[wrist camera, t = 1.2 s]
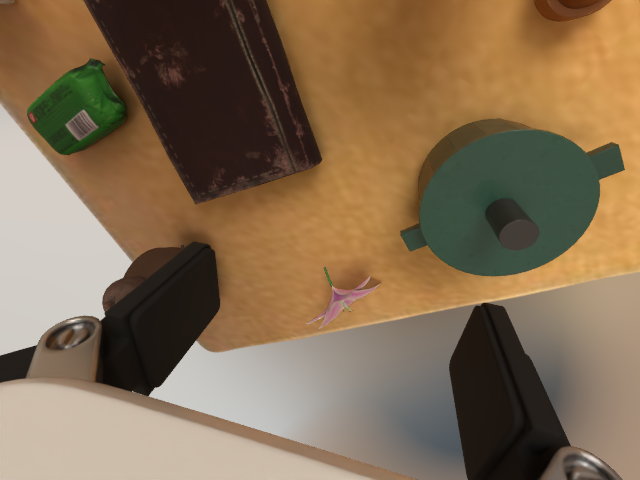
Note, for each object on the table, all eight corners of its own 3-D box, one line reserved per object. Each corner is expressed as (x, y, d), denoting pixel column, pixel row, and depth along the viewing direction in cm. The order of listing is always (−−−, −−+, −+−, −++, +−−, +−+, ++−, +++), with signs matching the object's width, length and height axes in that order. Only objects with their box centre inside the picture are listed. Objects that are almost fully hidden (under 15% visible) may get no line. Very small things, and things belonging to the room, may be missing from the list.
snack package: (149, 111, 40) (119, 117, 36) (82, 156, 46) (48, 165, 42) (114, 55, 38) (76, 54, 33) (47, 110, 44) (8, 115, 39)
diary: (236, -104, 28) (208, -135, 23) (325, 156, 38) (316, 167, 34) (103, -7, 34) (62, -17, 30) (210, 193, 44) (190, 206, 40)
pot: (379, 169, 37) (375, 194, 30) (556, 75, 29) (608, 78, 22) (425, 253, 42) (431, 292, 34) (590, 192, 33) (643, 227, 26)
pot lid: (393, 178, 30) (392, 200, 25) (567, 89, 23) (612, 96, 18) (451, 286, 34) (460, 323, 29) (609, 237, 28) (654, 273, 23)
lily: (315, 304, 52) (330, 355, 45) (278, 270, 44) (290, 325, 37) (375, 271, 51) (401, 319, 44) (349, 229, 43) (375, 280, 36)
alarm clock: (230, 298, 55) (157, 402, 38) (195, 294, 56) (109, 392, 40) (212, 228, 48) (111, 317, 31) (172, 226, 49) (55, 309, 32)
